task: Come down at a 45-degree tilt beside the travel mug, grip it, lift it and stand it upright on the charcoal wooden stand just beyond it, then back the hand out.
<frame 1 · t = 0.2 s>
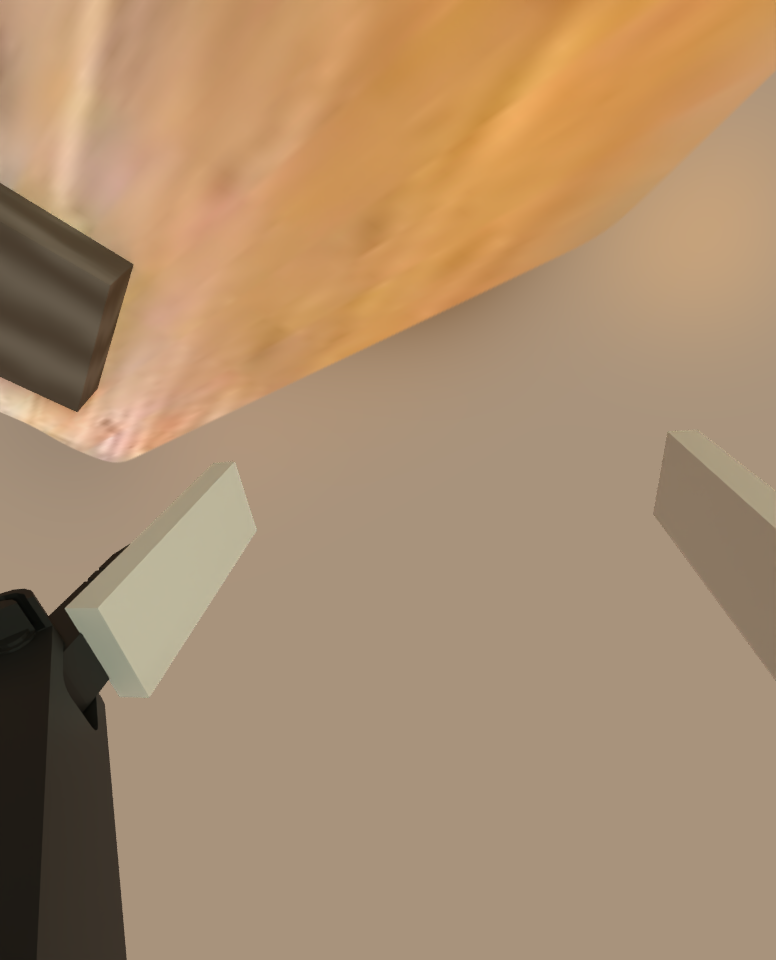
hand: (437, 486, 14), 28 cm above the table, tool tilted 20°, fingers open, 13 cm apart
stand: (17, 281, 39), on the table
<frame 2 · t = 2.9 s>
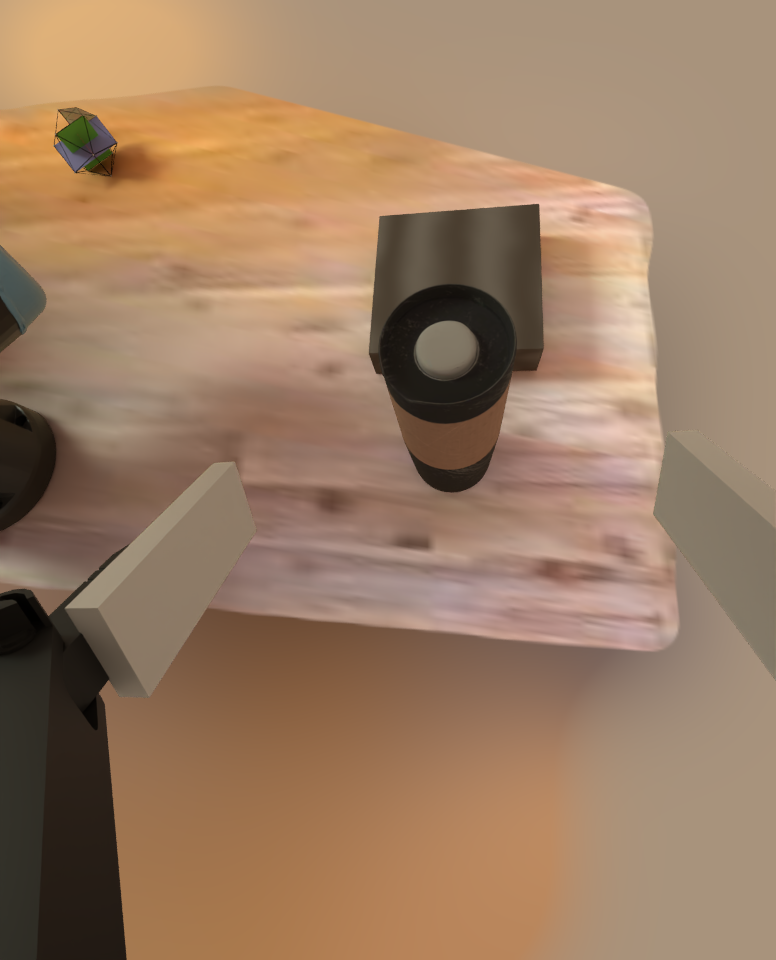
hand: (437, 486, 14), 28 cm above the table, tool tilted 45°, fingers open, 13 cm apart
geometric puzzle: (105, 168, 61), on the table
stand: (455, 303, 47), on the table
travel mug: (451, 457, 43), on the table
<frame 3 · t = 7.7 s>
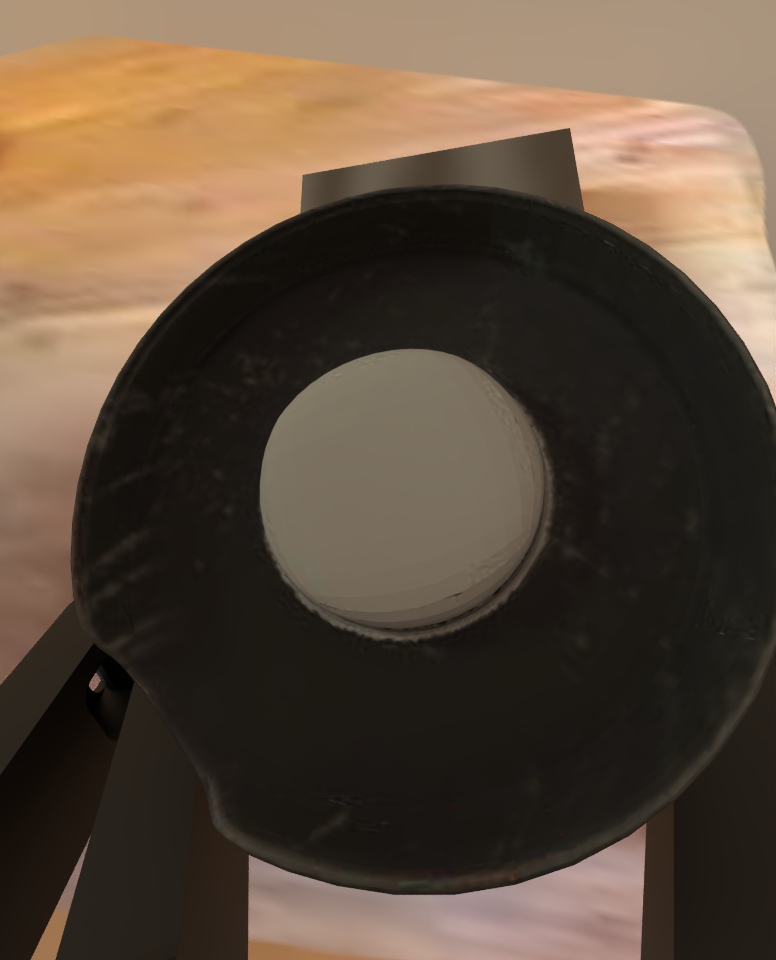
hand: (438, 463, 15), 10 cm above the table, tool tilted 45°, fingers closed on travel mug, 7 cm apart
stand: (439, 308, 28), on the table
travel mug: (453, 583, 24), on the table, touching gripper
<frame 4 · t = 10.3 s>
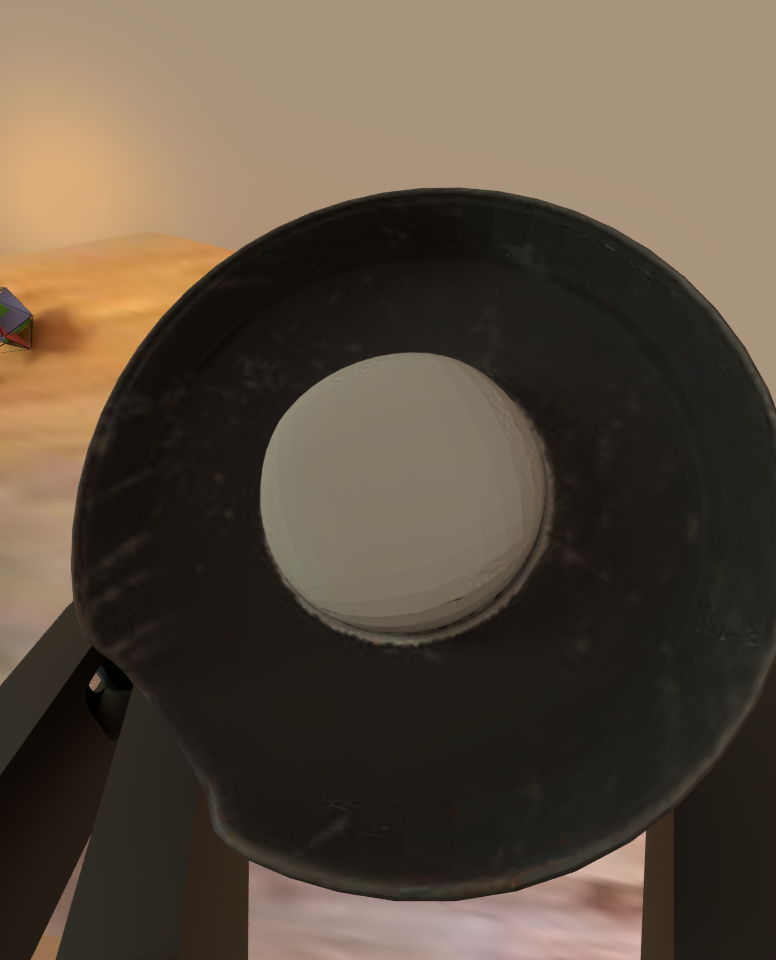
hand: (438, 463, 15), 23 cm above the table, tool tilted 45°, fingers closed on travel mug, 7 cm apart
geometric puzzle: (25, 338, 53), on the table
travel mug: (453, 584, 24), point 13 cm above the table, touching gripper
when the fingers open (15 cm above the table, at t = 13.1 s): travel mug drops 2 cm, resting on stand.
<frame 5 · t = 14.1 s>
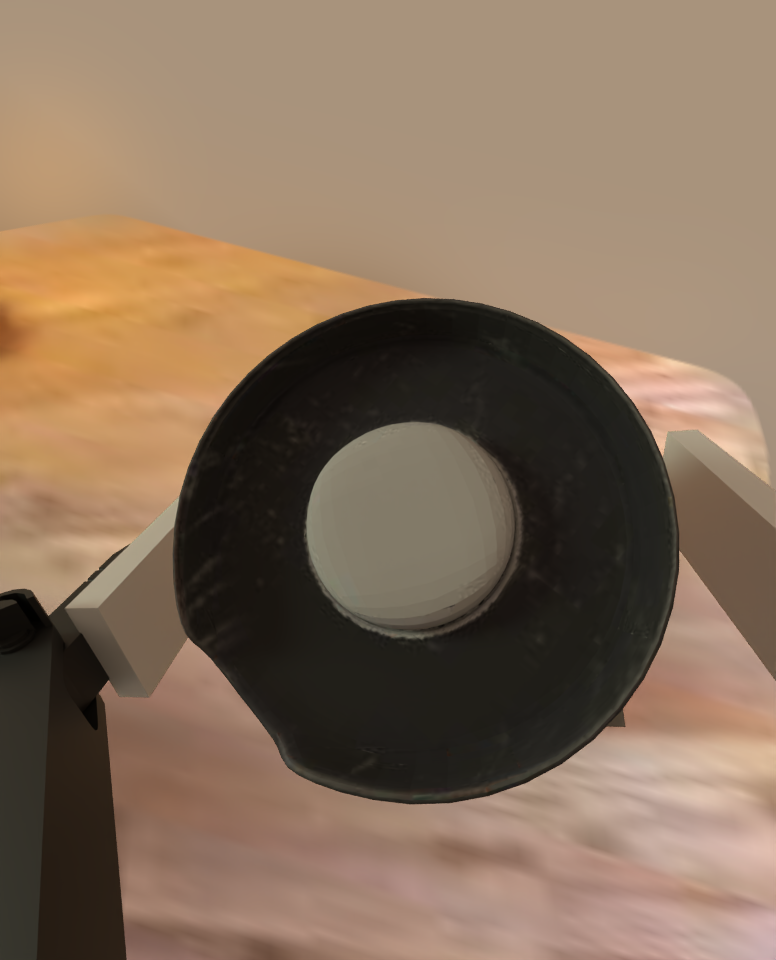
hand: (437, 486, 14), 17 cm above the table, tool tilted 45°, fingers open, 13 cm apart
travel mug: (452, 585, 26), point 4 cm above the table, touching stand
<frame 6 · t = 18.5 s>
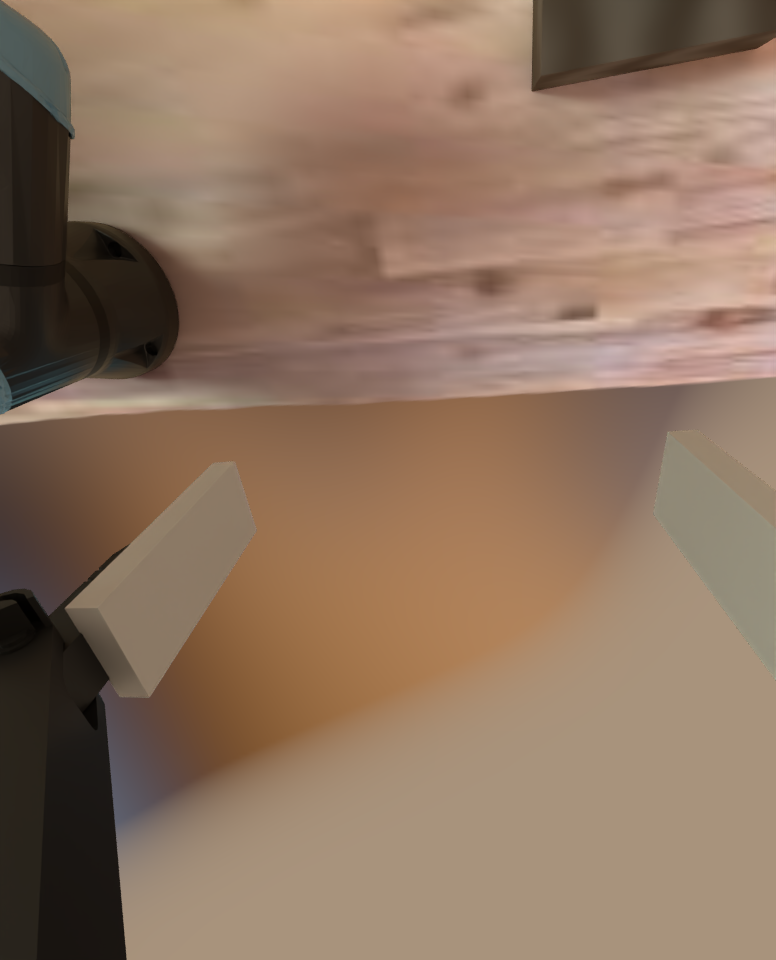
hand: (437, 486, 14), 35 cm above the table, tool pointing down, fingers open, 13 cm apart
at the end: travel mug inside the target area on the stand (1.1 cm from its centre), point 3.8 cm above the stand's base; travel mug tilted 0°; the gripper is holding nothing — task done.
